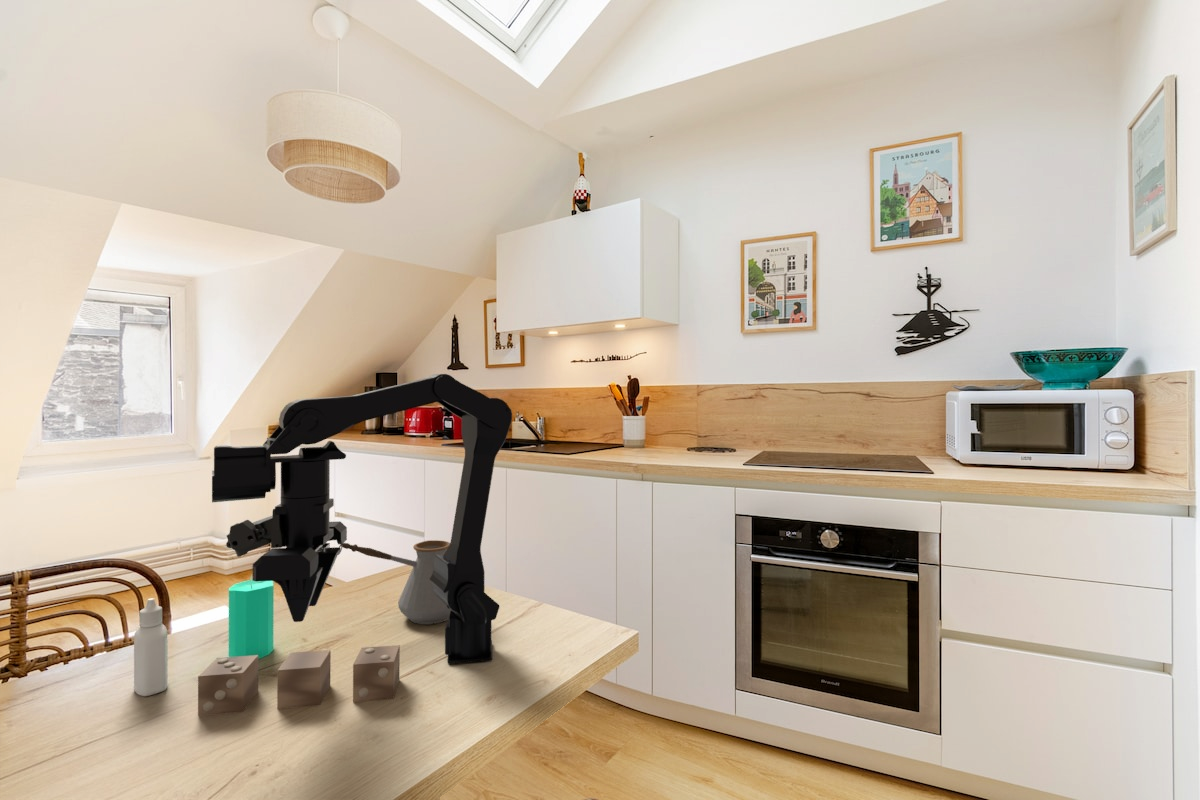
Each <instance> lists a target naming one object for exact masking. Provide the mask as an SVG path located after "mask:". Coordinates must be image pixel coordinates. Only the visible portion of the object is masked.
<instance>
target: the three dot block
mask: <svg viewBox="0 0 1200 800" xmlns="http://www.w3.org/2000/svg"><path fill="white" fill-rule="evenodd" d="M258 692H259V659H258V655H252V656H237V657H229V656H225V657H223V656H222V657H216V659H214V660H212V662H211V663H210V664H209V665H208V666H207V667H206V668H205V669H204V670H203V671H202V672H201V673H200V674H199V675H198V676H197V698H198V699H197V717H200V716H201V717H202V716H213V715H214V716H215V715H223V714H237V713H243V712H244V711H245V709H246V708H247V707H248V706H249V704H251V702H252V701H253V699H254V698H255V697H256V695H257V694H258Z"/></svg>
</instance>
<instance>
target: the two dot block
mask: <svg viewBox="0 0 1200 800" xmlns="http://www.w3.org/2000/svg"><path fill="white" fill-rule="evenodd" d="M400 650H401V648H400V644H396V645H393V644H392V645H381V646H369V647H368V646H365V647H364V646H363V647H361V648H360V650H359V652H358V654H357V656H356V659H355V660H354V662H353V664H352V670H353V671H352V702H353V703H359V702H360V703H361V702H362V703H363V702H371V701H372V702H373V701H384V700H394V699H395V695H396V693H397V689H398V686H399V682H400V659H401V658H400V657H401V656H400V654H401V653H400V652H401V651H400Z"/></svg>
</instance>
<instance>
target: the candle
mask: <svg viewBox="0 0 1200 800" xmlns="http://www.w3.org/2000/svg"><path fill="white" fill-rule="evenodd" d="M274 587H275V586H274V581H257V582H256V581H253V574H251V575H250V579H248V580H244V581H241V582H237V583H234V584H232V586H230V587H229V588H228V657H237V656H252V655H258V660H259V659H262V658H265V657H267V656H269V655H270V654H271V653H272V652H273V651H274V593H275V591H274Z"/></svg>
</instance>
